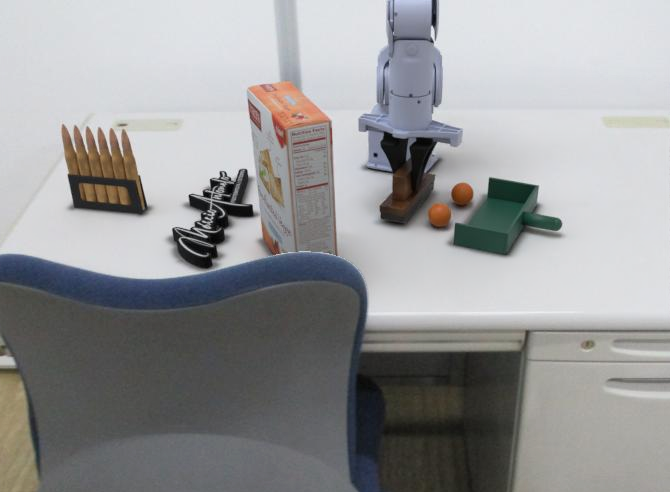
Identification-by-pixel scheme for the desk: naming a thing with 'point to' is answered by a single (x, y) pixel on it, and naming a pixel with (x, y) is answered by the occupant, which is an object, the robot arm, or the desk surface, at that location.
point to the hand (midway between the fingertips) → (408, 186)
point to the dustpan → (503, 217)
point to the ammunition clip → (103, 173)
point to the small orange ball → (439, 214)
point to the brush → (405, 194)
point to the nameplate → (212, 218)
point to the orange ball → (462, 193)
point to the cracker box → (293, 169)
